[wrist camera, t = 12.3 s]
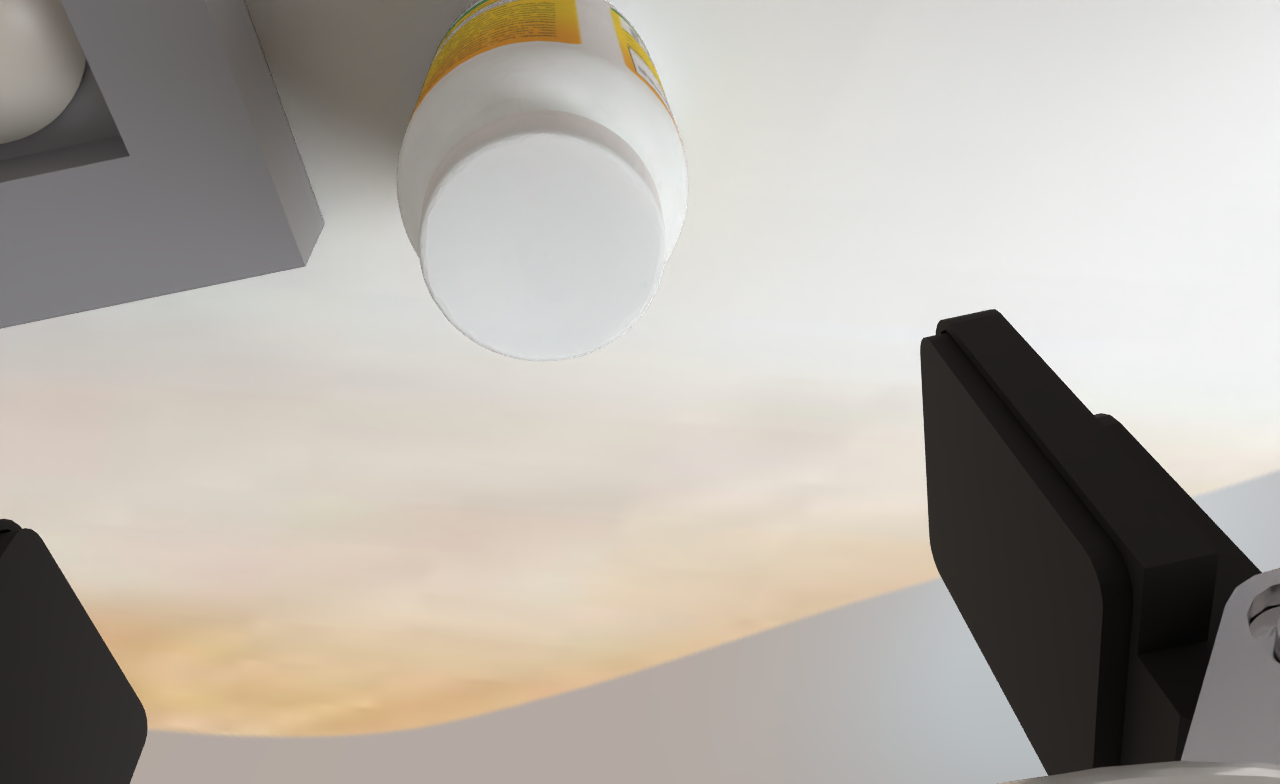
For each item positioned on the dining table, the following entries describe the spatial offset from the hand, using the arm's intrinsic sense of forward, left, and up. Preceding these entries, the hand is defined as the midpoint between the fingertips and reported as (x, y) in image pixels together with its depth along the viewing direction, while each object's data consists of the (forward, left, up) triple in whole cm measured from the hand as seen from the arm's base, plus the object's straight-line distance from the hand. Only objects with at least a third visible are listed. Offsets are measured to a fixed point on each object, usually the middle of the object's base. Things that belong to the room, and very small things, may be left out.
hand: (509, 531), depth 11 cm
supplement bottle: (-1, 0, -17) cm, 17 cm away
